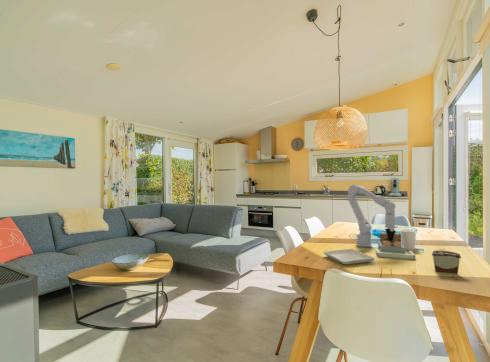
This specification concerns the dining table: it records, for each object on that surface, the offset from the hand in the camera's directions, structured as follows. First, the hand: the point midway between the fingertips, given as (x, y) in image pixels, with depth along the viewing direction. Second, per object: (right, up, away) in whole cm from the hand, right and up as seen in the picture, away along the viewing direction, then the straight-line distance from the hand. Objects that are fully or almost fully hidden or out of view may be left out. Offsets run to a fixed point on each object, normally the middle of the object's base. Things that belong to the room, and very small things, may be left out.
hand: (390, 240), depth 183 cm
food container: (+4, -7, -44) cm, 45 cm away
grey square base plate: (-1, -6, -3) cm, 7 cm away
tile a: (-5, -2, -5) cm, 8 cm away
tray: (-6, -6, -15) cm, 18 cm away
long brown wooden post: (0, -2, 0) cm, 2 cm away
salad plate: (-37, -7, -23) cm, 44 cm away
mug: (+15, -6, +3) cm, 16 cm away
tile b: (0, -2, -7) cm, 8 cm away
